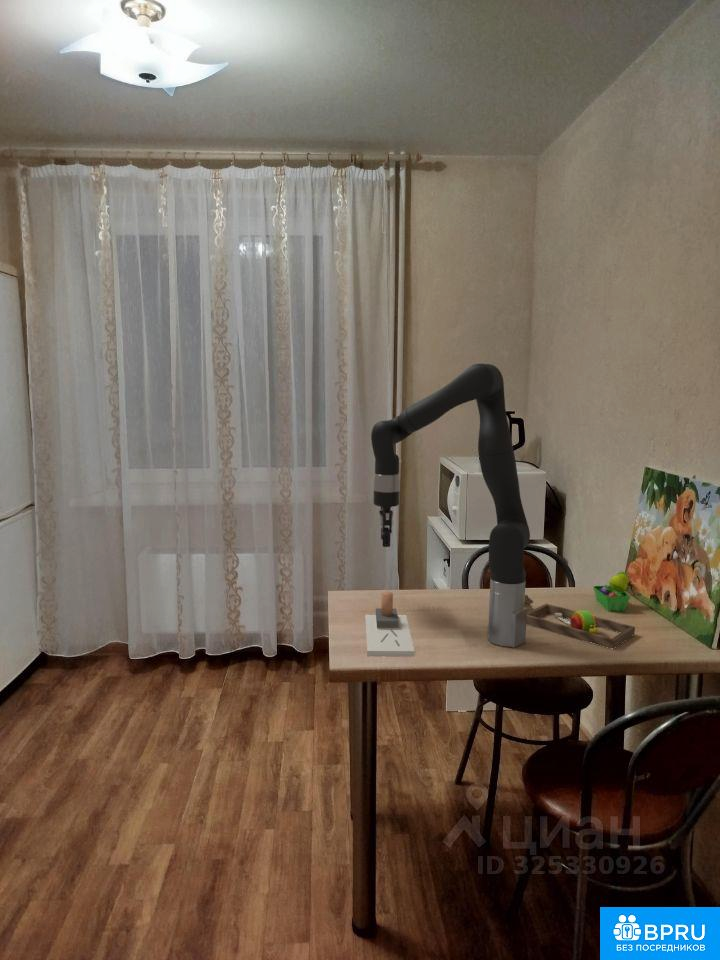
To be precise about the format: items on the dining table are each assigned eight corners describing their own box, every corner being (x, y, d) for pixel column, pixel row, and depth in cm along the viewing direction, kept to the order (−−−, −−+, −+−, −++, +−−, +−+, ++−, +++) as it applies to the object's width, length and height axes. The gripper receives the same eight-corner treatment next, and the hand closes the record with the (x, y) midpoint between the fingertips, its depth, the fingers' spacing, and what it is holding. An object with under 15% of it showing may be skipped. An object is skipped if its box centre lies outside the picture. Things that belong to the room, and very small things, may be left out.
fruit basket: (591, 600, 210) (593, 567, 209) (617, 600, 211) (620, 566, 209) (606, 613, 199) (608, 577, 198) (634, 612, 200) (637, 577, 198)
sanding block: (375, 616, 191) (376, 588, 189) (396, 616, 191) (396, 588, 189) (376, 628, 181) (377, 599, 179) (398, 628, 181) (399, 599, 180)
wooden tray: (634, 635, 182) (635, 626, 181) (613, 649, 172) (613, 640, 171) (546, 611, 200) (546, 603, 200) (522, 622, 190) (522, 614, 190)
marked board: (365, 619, 192) (365, 614, 192) (405, 619, 192) (406, 614, 192) (367, 656, 166) (367, 650, 166) (414, 656, 166) (414, 651, 166)
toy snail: (585, 642, 176) (586, 619, 175) (547, 617, 195) (549, 596, 194) (605, 640, 178) (607, 617, 177) (566, 616, 197) (568, 595, 196)
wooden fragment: (537, 617, 195) (538, 614, 195) (500, 615, 197) (500, 612, 197) (528, 591, 221) (528, 588, 221) (495, 589, 222) (495, 586, 222)
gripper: (401, 493, 183) (400, 549, 185) (397, 485, 197) (396, 537, 199) (374, 493, 183) (373, 549, 185) (372, 484, 197) (371, 537, 199)
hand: (385, 543), depth 192 cm, fingers open, 8 cm apart
